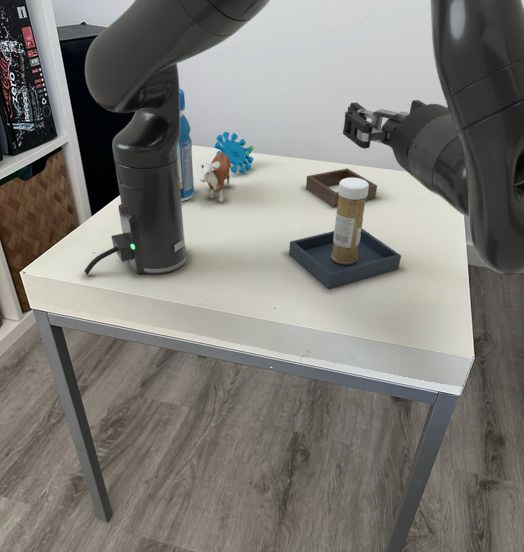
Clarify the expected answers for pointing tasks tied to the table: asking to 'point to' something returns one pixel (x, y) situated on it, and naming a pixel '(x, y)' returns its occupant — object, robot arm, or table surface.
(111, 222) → the table surface
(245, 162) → the blue virus toy
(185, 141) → the beverage bottle
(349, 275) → the tray
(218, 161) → the bull figurine
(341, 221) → the sprinkles bottle
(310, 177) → the open box
